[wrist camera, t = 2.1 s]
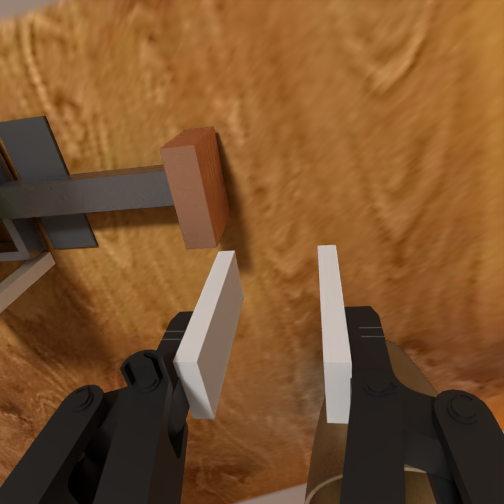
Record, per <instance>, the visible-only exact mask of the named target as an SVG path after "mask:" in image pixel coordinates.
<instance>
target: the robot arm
mask: <svg viewBox="0 0 504 504" xmlns="http://www.w3.org/2000/svg"><path fill="white" fill-rule="evenodd" d="M318 259H319V279H320V299H321V319H322V339H323V359H324V376H325V394H326V411H327V423H346V424H348V430H347V439H346V448H345V457H344V467H343V476H342V485H341V494H340V503H339V504H405V468H404V464H406V465H409V466H412V467H414V468H417V469H420V470H422V471H425V472H426V474H427V477H428V480H429V483H430V486H431V489H432V492H433V495H434V498H435V501H436V504H504V434H503V432H502V430H501V428H500V426H499V425H498V423H497V421H496V419H495V417H494V416H493V414H492V412H491V410H490V409H489V408H488V407H487V405H486V404H485V403H484V402H483V401H482V400H480V399H479V398H477V397H476V396H475V395H473V394H470V393H468V392H465V391H461V390H453V389H452V390H447V391H443V392H441V393H440V394H439V395H437V396H436V397H433V396H430V395H426V394H423V393H419V392H417V391H414V390H411V389H410V388H408V387H406V386H405V385H404V384H402V383H401V382H400V381H399V380H398V379H397V377H396V376H395V374H394V372H393V369H392V365H391V361H390V357H389V353H388V349H387V345H386V342H385V338H384V334H383V330H382V326H381V322H380V318H379V315H378V314H377V313H376V312H375V311H374V310H373V309H372V307H371V306H360V307H344V303H343V295H342V288H341V281H340V273H339V266H338V259H337V251H336V245H324V246H318ZM243 300H244V296H243V291H242V286H241V280H240V275H239V270H238V265H237V260H236V254H235V251H219V252H218V254H217V257H216V259H215V262H214V264H213V266H212V269H211V271H210V274H209V276H208V279H207V281H206V283H205V286H204V288H203V291H202V293H201V295H200V298H199V300H198V303H197V305H196V307H195V310H194V311H192V312H179V313H178V314H177V315H176V316H175V317H174V318H173V319H172V320H171V321H170V323H169V325H168V328H167V330H166V332H165V334H164V336H163V338H162V340H161V342H160V344H159V346H158V348H157V350H156V351H155V350H143V351H139V352H136V353H135V354H133V355H131V356H130V357H128V358H127V359H126V360H125V361H124V362H123V364H122V366H121V367H120V370H121V372H122V374H123V376H124V378H125V381H126V383H127V385H128V386H127V387H124V388H121V389H118V390H114V391H110V392H106V393H104V392H103V390H102V389H101V388H100V387H99V386H96V385H85V386H83V387H80V388H78V389H76V390H75V391H73V392H72V393H70V394H69V395H68V396H67V397H66V398H65V399H64V400H63V402H62V403H61V405H60V406H59V407H58V409H57V410H56V411H55V413H54V414H53V416H52V417H51V418H50V420H49V421H48V422H47V424H46V425H45V427H44V428H43V429H42V431H41V432H40V434H39V435H38V436H37V438H36V439H35V440H34V442H33V443H32V445H31V446H30V447H29V449H28V450H27V451H26V453H25V454H24V456H23V457H22V458H21V460H20V461H19V462H18V464H17V465H16V467H15V468H14V469H13V471H12V472H11V474H10V475H9V476H8V478H7V479H6V480H5V482H4V483H3V485H2V486H1V487H0V504H180V502H181V492H182V483H183V474H184V465H185V456H186V446H187V437H188V425H187V422H186V417H187V414H188V411H189V409H190V411H191V414H192V417H193V418H199V419H214V418H215V414H216V410H217V406H218V402H219V398H220V394H221V390H222V386H223V381H224V377H225V373H226V369H227V365H228V361H229V357H230V353H231V349H232V345H233V340H234V336H235V332H236V328H237V324H238V320H239V316H240V312H241V308H242V304H243Z"/></svg>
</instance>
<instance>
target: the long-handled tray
mask: <svg viewBox="0 0 504 504" xmlns="http://www.w3.org/2000/svg"><path fill="white" fill-rule="evenodd" d="M160 153H161V157H162V161H163V164H164V165H156V166H147V167H138V168H128V169H119V170H109V171H100V172H91V173H81V174H72V175H63V176H53V177H44V178H34V179H25V180H16V181H15V180H14V178H13V176H12V174H11V172H10V170H9V168H8V166H7V164H6V162H5V160H4V158H3V156H2V154H1V152H0V217H1V219H2V221H3V223H4V225H5V227H6V229H7V230H8V232H9V234H10V236H11V238H12V240H13V241H9V242H0V261H16V260H32V259H33V258H35V257H36V256H37V255H38V254H40V253H41V252H42V251H43V250H45V249H46V248H47V246H46V243H45V241H44V239H43V237H42V235H41V233H40V231H39V229H38V227H37V225H36V223H35V221H34V219H33V217H41V216H53V215H65V214H77V213H89V212H101V211H113V210H125V209H137V208H149V207H161V206H173V205H175V209H176V213H177V216H178V220H179V224H180V227H181V231H182V235H183V239H184V242H185V246H186V249H202V248H217V245H218V243H219V241H220V239H221V236H222V234H223V232H224V229H225V227H226V225H227V222H228V220H229V218H230V209H229V204H228V199H227V193H226V188H225V183H224V178H223V172H222V167H221V162H220V156H219V151H218V146H217V140H216V135H215V130H214V126H212V127H204V128H196V129H188V130H184V131H183V132H181V133H180V134H179V135H177V136H176V137H175V138H173V139H172V140H171V141H169V142H168V143H167V144H165V145H164V146H163V147H161V148H160Z"/></svg>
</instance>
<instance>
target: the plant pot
mask: <svg viewBox="0 0 504 504" xmlns="http://www.w3.org/2000/svg"><path fill="white" fill-rule="evenodd" d="M385 342H386V345H387V349H388V353H389V357H390V361H391V365H392V369H393V372H394V374H395V376H396V377H397V379H398V380H399V381H400V382H401V383H402V384H404V385H405V386H406V387H408V388H410V389H411V390H414V391H417V392H419V393H423V394H426V395H430V396H433V397H436V396H437V395H439V394H438V393H437V391H436V390H435V388H434V387H433V386H432V384H431V383H430V382H429V381H428V379H427V378H426V377H425V375H424V374H423V373H422V372H421V371H420V369H419V368H418V367H417V366H416V365H415V363H414V362H413V361H412V360H411V359H410V358H409V357H408V356H407V354H406V353H405V352H404V351H403V350H402V349H401V348H400V347H399V346H397V345H396V344H394V343H392V342H390V341H387V340H385ZM347 430H348V424H346V423H327V411H326V395H325V398H324V402H323V405H322V409H321V413H320V417H319V421H318V425H317V430H316V435H315V439H314V445H313V450H312V456H311V462H310V469H309V475H308V482H307V488H306V496H305V504H339V503H340V494H341V485H342V476H343V467H344V457H345V448H346V439H347ZM404 468H405V504H436V501H435V498H434V495H433V492H432V489H431V486H430V483H429V480H428V477H427V474H426V472H425V471H422V470H420V469H417V468H414V467H412V466H409V465H406V464H404Z"/></svg>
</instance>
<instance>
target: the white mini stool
mask: <svg viewBox="0 0 504 504" xmlns="http://www.w3.org/2000/svg"><path fill="white" fill-rule="evenodd" d="M0 137H1V139H2V141H3V143H4V145H5V147H6V149H7V151H8V153H9V156H10V158H11V160H12V162H13V164H14V166H15V168H16V170H17V172H18V174H19V176H20V178H21V180H25V179H34V178H44V177H53V176H63V175H69V173H68V171H67V168H66V166H65V163H64V161H63V159H62V156H61V154H60V151H59V149H58V146H57V144H56V141H55V139H54V137H53V134H52V132H51V129H50V127H49V124H48V122H47V119H46V117H45V116H40V117H33V118H26V119H20V120H13V121H6V122H0ZM39 218H40V220H41V222H42V224H43V226H44V228H45V230H46V232H47V234H48V237H49V239H50V241H51V243H52V245H53V247H54V249H61V248H76V247H92V246H97V245H98V244H97V242H96V239H95V237H94V234H93V232H92V229H91V227H90V225H89V222H88V220H87V217H86V215H85V213H77V214H65V215H53V216H41V217H39ZM55 264H56V263H55V261H54V259H53V257H52V255H51V253H50V252H41V253H40V254H38V255H37V256H36V257H35V258H33V259H32V260H28V261H27V262H26V263H25V264H23V265H22V266H21V267H20V268H18V269H17V270H16V271H14V272H13V273H12V274H11V275H9V276H8V277H7V278H6V279H4V280H3V281H2V282H1V283H0V313H1V312H2V311H3V310H4V309H5V308H7V307H8V306H9V305H10V304H11V303H12V302H13V301H14V300H16V299H17V298H18V297H19V296H20V295H21V294H22V293H23V292H24V291H26V290H27V289H28V288H29V287H30V286H31V285H32V284H33V283H34V282H36V281H37V280H38V279H39V278H40V277H41V276H42V275H43V274H45V273H46V272H47V271H48V270H49V269H50V268H51V267H52V266H53V265H55Z"/></svg>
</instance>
